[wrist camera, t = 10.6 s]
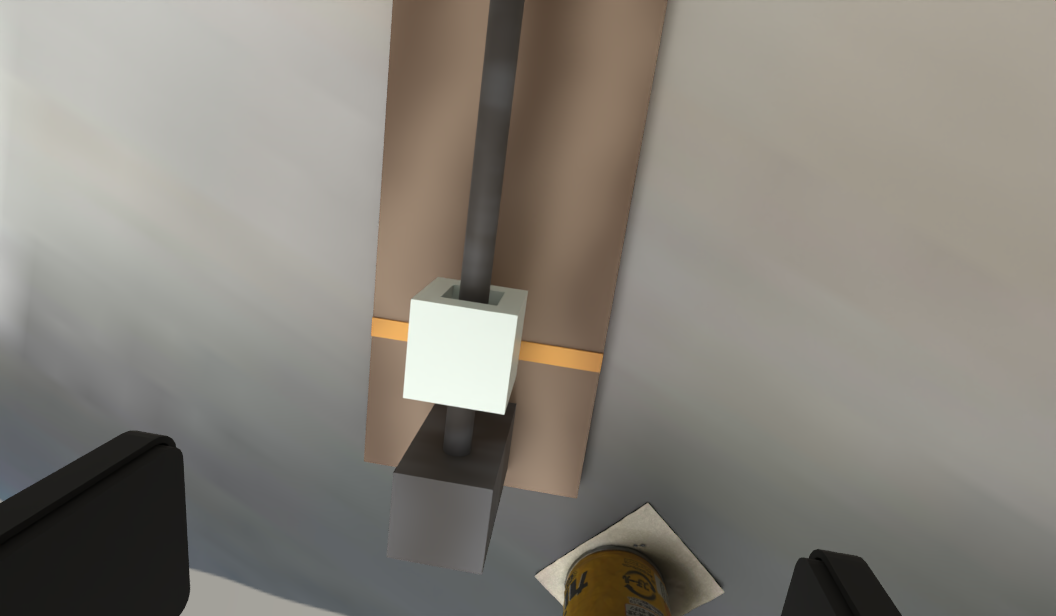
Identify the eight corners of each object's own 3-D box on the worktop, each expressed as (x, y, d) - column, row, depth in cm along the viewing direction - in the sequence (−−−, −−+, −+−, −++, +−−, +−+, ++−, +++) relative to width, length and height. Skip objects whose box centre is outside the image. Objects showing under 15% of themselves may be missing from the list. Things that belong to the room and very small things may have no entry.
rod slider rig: (677, -73, 25) (733, -209, 15) (577, 483, 32) (574, 612, 23) (410, -104, 25) (313, -252, 16) (373, 448, 33) (292, 560, 24)
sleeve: (528, 290, 24) (517, 315, 20) (516, 375, 25) (504, 414, 22) (437, 276, 24) (410, 299, 21) (429, 361, 26) (402, 397, 22)
